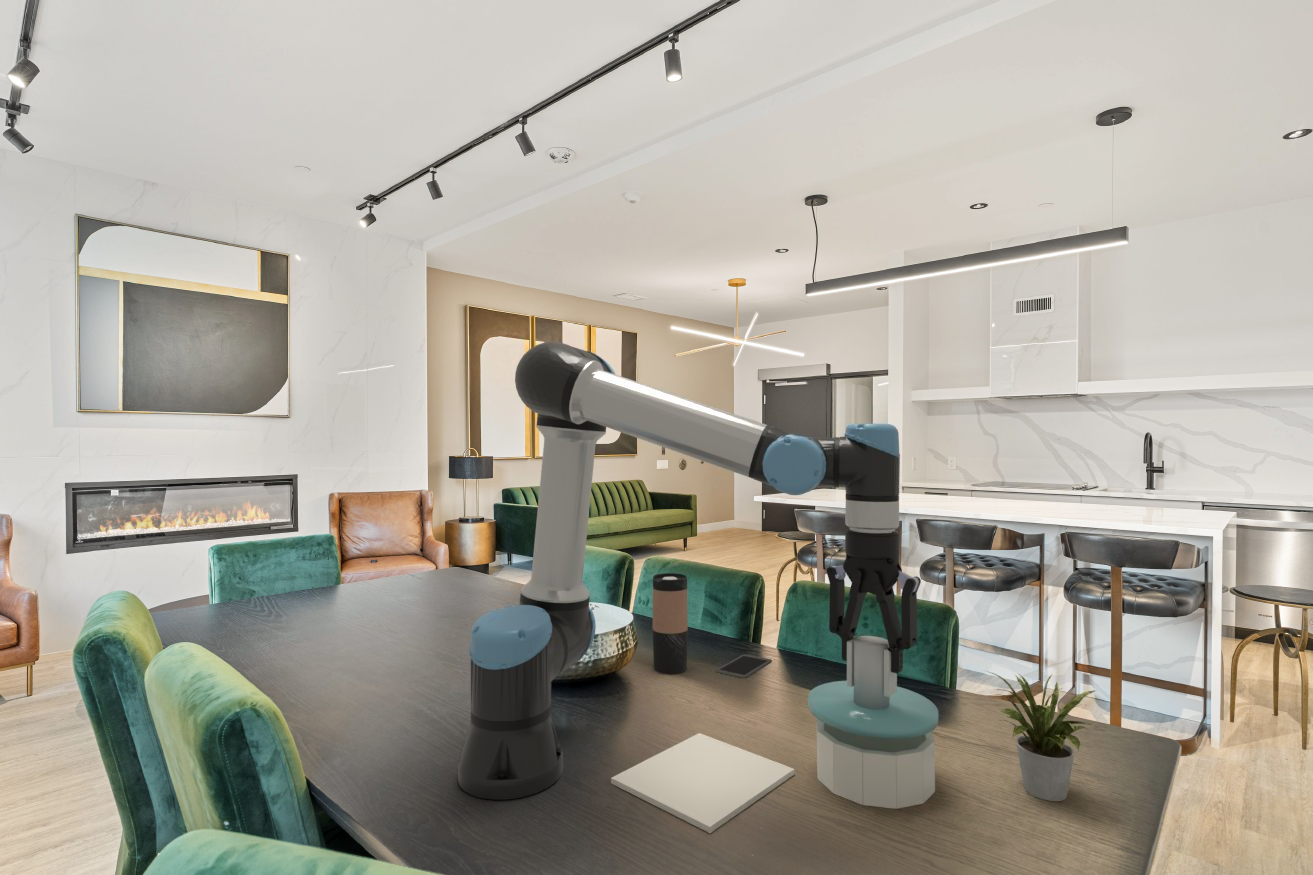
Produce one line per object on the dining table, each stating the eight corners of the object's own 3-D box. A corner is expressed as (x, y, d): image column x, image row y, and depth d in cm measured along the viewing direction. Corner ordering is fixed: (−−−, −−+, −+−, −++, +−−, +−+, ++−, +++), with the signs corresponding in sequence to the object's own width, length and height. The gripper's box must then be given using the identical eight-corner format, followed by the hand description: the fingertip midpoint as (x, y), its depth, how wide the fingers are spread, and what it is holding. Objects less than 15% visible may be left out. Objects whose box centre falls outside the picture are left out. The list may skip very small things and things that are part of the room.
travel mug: (688, 663, 147) (688, 573, 147) (687, 675, 139) (686, 580, 139) (654, 662, 147) (654, 572, 148) (650, 674, 140) (650, 579, 140)
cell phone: (773, 662, 148) (773, 659, 148) (744, 680, 137) (744, 677, 137) (744, 656, 152) (743, 653, 152) (713, 673, 141) (713, 670, 141)
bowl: (905, 821, 85) (905, 766, 85) (796, 779, 96) (796, 730, 96) (950, 775, 97) (949, 727, 97) (848, 742, 107) (848, 699, 108)
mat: (710, 833, 83) (710, 826, 83) (611, 783, 95) (611, 777, 95) (794, 774, 97) (794, 768, 97) (699, 737, 109) (699, 732, 109)
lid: (907, 751, 84) (908, 670, 84) (784, 711, 96) (785, 641, 96) (957, 710, 97) (957, 640, 97) (843, 679, 109) (843, 617, 109)
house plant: (962, 788, 93) (961, 672, 93) (996, 755, 103) (995, 650, 103) (1079, 830, 83) (1078, 699, 83) (1105, 789, 93) (1104, 672, 93)
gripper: (944, 532, 93) (944, 697, 93) (828, 521, 105) (827, 667, 105) (924, 537, 88) (923, 713, 88) (804, 525, 100) (803, 679, 100)
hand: (871, 688), depth 96 cm, fingers closed on lid, 5 cm apart
